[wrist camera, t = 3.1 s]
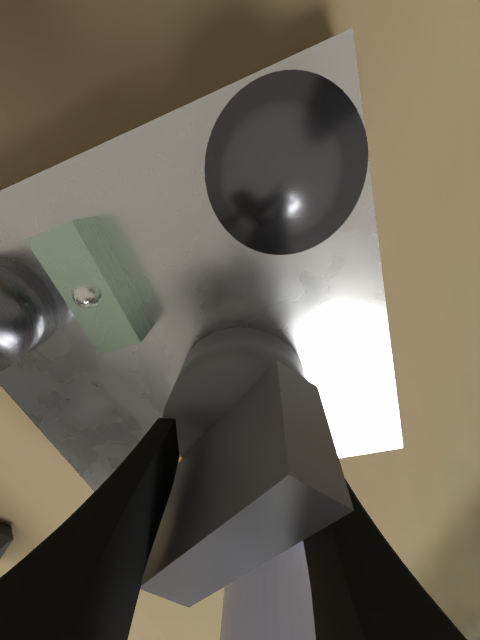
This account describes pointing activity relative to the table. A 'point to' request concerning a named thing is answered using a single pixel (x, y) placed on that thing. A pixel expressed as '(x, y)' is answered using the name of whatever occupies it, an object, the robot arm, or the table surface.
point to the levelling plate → (201, 261)
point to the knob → (242, 465)
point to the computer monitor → (5, 538)
